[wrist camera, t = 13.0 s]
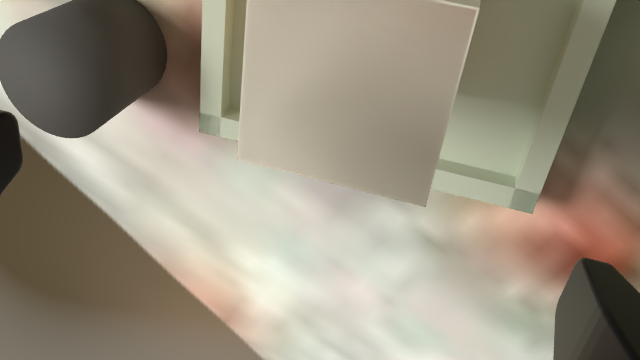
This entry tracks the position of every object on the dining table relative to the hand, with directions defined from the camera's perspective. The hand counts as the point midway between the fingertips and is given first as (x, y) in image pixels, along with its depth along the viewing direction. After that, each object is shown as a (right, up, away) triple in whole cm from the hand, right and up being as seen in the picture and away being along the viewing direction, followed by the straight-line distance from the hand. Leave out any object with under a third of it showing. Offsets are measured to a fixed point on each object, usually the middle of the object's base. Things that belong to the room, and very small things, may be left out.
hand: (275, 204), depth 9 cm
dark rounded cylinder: (-7, +6, +13) cm, 16 cm away
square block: (+3, +6, +9) cm, 11 cm away
